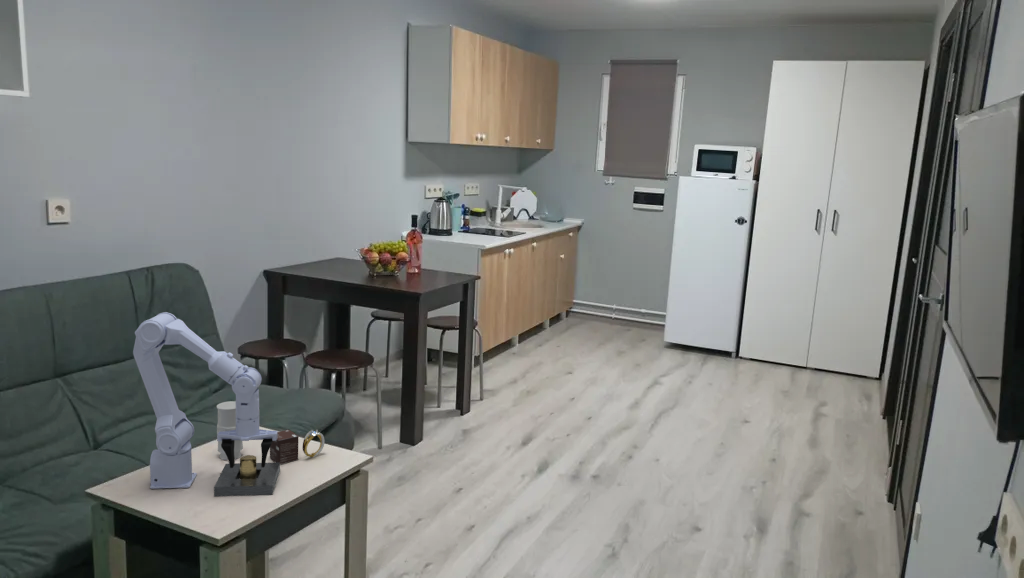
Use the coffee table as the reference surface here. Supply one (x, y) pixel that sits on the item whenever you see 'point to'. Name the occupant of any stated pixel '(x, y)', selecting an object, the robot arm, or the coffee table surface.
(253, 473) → the brass shaft
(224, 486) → the block
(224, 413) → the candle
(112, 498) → the coffee table surface
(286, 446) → the box
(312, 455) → the ring
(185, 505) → the coffee table surface
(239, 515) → the coffee table surface
